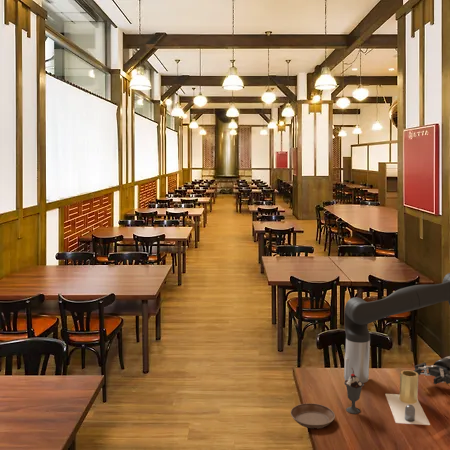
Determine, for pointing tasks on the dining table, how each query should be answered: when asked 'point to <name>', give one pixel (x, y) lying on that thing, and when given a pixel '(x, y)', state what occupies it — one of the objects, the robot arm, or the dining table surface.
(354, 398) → the sundae
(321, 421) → the saucer
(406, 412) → the post
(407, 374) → the sleeve
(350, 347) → the robot arm
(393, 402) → the mat
